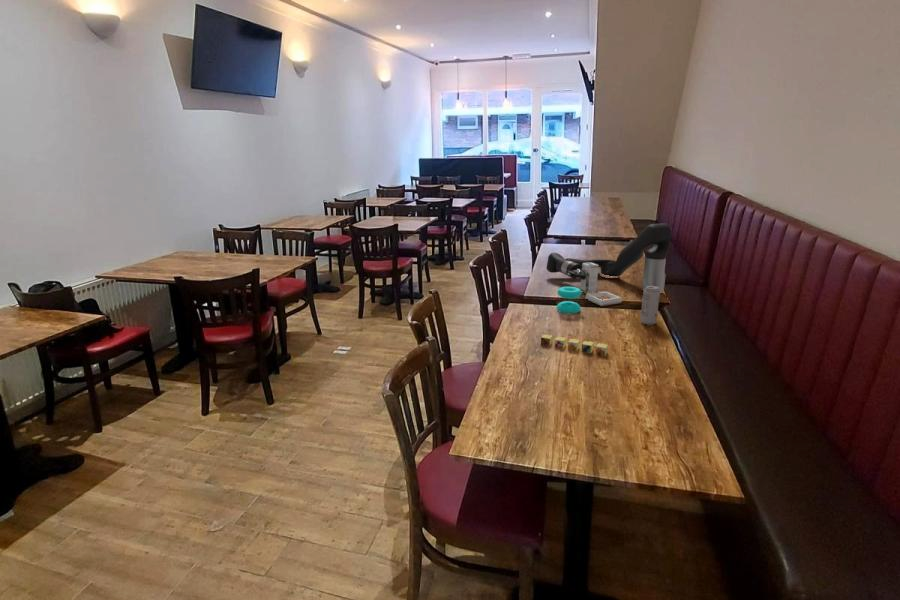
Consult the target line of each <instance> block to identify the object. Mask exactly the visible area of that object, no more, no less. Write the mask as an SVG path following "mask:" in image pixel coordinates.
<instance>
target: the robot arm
mask: <svg viewBox="0 0 900 600" xmlns="http://www.w3.org/2000/svg"><path fill="white" fill-rule="evenodd" d="M671 239H672V229H671V227H670V225H669V224H668V223H664V222H662V223H651V224H648V225H647V226H646V227H645V228H644V229H643V230H642V231H641V232H640V233H639V234H638V235H637V237H635V238H634V239H633V240H632V241H631V242H630V243H629V244H627V245H626V246H625V247H623V248H622V249H621V251H619V254H618V255H617V258H616V259H615V260H614V259H578V258H570V257H566V258H564V257H563V256H562V255H561V254H559V252H551V253H550V254H548V256H547V263H546V270H547V271H548V272H549V273H552V274H553V273H562V274H564V275H565V276H567V277H569V278H572V279H580V280H581V279H583V280H585V275H583V274H582V264H583V263H594V264H597V265H599V266H598V268H600V272H598V277H597V279H598V278H601V273H602V274H604V275H609V276H619V275H621V276H622V274H623V273H625V271H627V270H628V269H629V268H631V266H633V265H634V264H636V263H637V262H638V261H640V259H642V258H643V256H644V254H645V256H644V261H643V262H644V264H643V265H644V266H643V272H642V273H643V275H642V281H641V282H642V284H641V291H642V290H643V291H644V289H645V288H646V286H657V287H659V291H660V292H662V291H663V292H664V291H665V281H666V277H667V275H666V273H665V270H666V269H665V268H666V260H667V255H668V253H669V250H670V244H671ZM651 245H653V246H652V247H650V248H648V247H649V246H651ZM646 248H648V249H647V250H646V251H645V249H646ZM644 252H645V253H644ZM664 293H665V292H664Z"/></svg>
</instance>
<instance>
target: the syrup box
mask: <svg viewBox="0 0 900 600" xmlns="http://www.w3.org/2000/svg"><path fill="white" fill-rule="evenodd" d="M598 266H599V265H597V264H594V263H583V264H582V274H583V275H585V280H583V279H580V288H579V289H580V290H581V291H583V292H585V293H592V292H596V293H597V285H598V278H597V277H598V273H599V267H598Z"/></svg>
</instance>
